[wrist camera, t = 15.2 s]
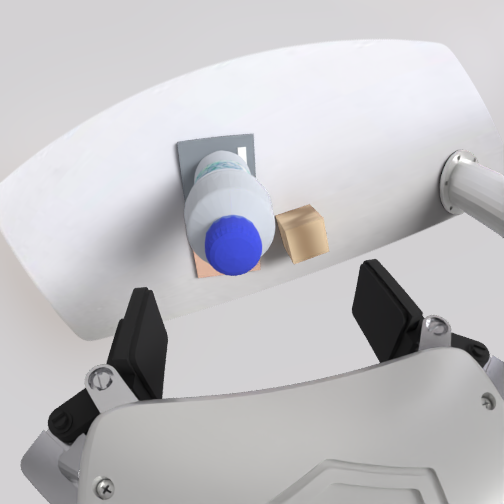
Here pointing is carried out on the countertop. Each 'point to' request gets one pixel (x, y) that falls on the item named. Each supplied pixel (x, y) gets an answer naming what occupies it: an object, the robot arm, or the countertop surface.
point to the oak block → (303, 233)
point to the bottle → (228, 214)
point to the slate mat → (200, 148)
